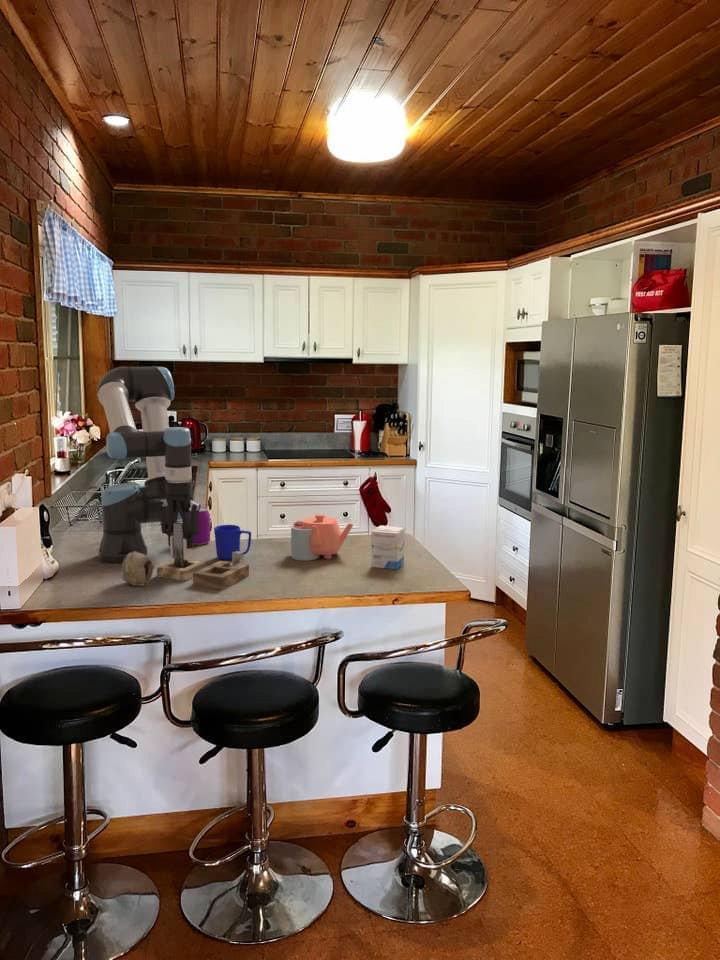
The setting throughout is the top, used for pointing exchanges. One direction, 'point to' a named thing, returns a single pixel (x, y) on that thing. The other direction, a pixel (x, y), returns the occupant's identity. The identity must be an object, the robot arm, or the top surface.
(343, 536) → the teapot
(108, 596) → the top surface
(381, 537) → the ink box
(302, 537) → the mug
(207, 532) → the beverage can
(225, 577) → the socket block
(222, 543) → the mug
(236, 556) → the drift key
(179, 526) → the peg
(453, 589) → the top surface
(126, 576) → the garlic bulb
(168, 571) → the frame
